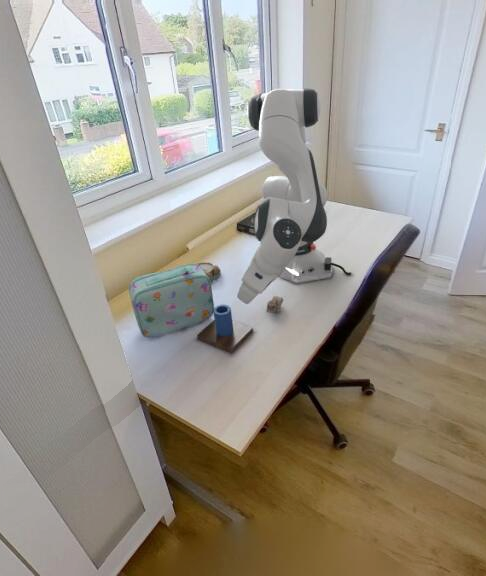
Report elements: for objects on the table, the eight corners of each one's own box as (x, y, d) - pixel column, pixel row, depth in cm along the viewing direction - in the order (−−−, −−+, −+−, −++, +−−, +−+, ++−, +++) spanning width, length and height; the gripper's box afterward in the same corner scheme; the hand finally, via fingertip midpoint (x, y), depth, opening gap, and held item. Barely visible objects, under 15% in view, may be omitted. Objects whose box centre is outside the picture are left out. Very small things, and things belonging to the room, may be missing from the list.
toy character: (266, 317, 141) (262, 309, 136) (275, 299, 145) (271, 290, 140) (276, 320, 140) (273, 312, 135) (285, 302, 143) (281, 293, 138)
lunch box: (210, 304, 146) (202, 253, 134) (220, 319, 138) (212, 266, 126) (137, 327, 136) (122, 274, 124) (144, 344, 129) (128, 290, 117)
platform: (253, 332, 132) (251, 310, 127) (231, 354, 123) (228, 332, 118) (220, 319, 138) (217, 298, 133) (197, 339, 130) (193, 318, 125)
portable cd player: (236, 230, 197) (235, 223, 195) (256, 218, 209) (256, 211, 207) (263, 238, 189) (262, 230, 187) (282, 225, 201) (282, 218, 199)
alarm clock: (198, 260, 168) (225, 263, 160) (201, 270, 170) (228, 273, 162) (180, 272, 160) (208, 276, 152) (184, 283, 162) (211, 287, 154)
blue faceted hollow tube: (236, 329, 130) (233, 307, 125) (226, 338, 126) (223, 316, 121) (223, 324, 133) (220, 302, 128) (213, 333, 129) (210, 311, 124)
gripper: (279, 229, 109) (266, 252, 121) (238, 282, 99) (228, 301, 111) (297, 243, 109) (282, 264, 121) (258, 296, 99) (246, 314, 111)
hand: (256, 282), depth 116 cm, fingers open, 8 cm apart
